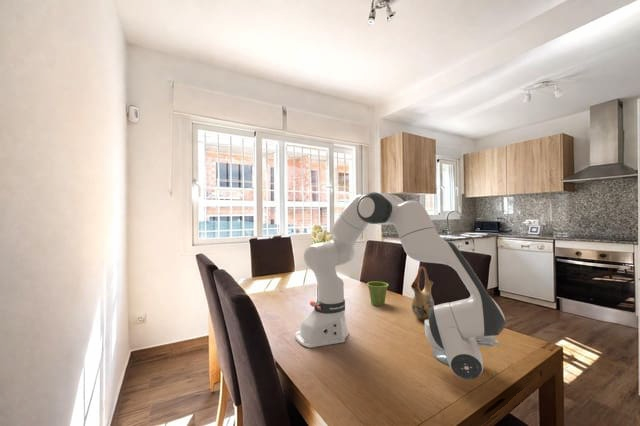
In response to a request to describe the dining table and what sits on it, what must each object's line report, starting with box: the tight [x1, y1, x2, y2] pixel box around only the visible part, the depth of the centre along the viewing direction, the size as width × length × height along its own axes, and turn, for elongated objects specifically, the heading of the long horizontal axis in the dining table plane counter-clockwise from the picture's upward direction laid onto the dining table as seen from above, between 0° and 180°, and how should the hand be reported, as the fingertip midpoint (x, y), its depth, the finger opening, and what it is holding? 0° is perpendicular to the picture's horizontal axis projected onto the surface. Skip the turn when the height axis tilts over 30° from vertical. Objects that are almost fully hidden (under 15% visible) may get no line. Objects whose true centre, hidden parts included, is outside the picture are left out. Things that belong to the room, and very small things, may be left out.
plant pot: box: [366, 281, 389, 307], centre depth 147 cm, size 12×12×11 cm
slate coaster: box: [432, 347, 449, 366], centre depth 91 cm, size 15×15×1 cm
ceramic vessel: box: [410, 266, 435, 321], centre depth 125 cm, size 16×9×25 cm, turn 127°
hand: (455, 322), depth 92 cm, fingers closed on eye dropper bottle, 5 cm apart
